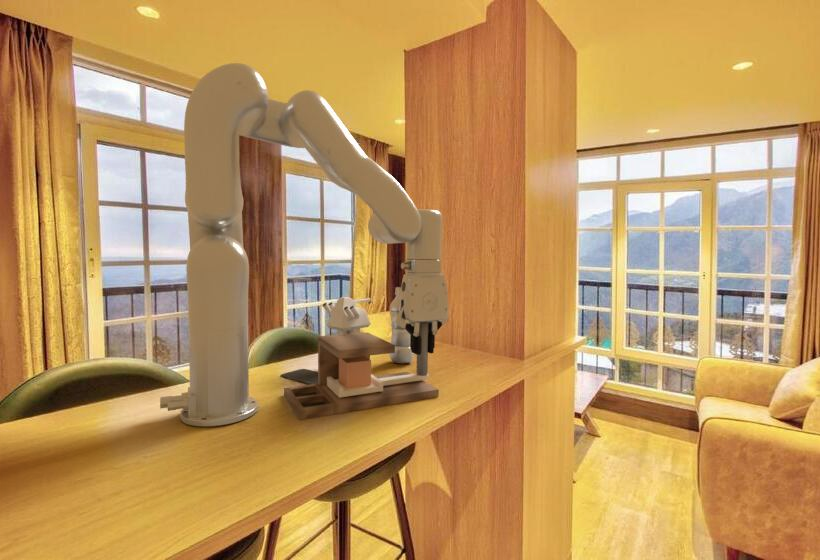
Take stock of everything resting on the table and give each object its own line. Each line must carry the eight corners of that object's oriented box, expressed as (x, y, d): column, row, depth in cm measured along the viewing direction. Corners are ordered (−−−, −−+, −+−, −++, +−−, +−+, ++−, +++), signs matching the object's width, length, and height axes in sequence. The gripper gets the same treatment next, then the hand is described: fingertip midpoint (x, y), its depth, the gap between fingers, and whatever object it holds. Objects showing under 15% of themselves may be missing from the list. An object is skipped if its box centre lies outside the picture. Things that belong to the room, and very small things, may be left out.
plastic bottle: (414, 366, 108) (415, 289, 107) (387, 365, 108) (388, 288, 107) (414, 359, 115) (415, 287, 113) (389, 359, 115) (390, 286, 114)
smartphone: (303, 368, 104) (346, 378, 95) (303, 371, 104) (346, 382, 95) (278, 374, 98) (322, 386, 89) (278, 378, 98) (322, 390, 89)
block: (346, 388, 81) (346, 363, 81) (338, 381, 85) (338, 357, 85) (370, 385, 83) (371, 360, 83) (361, 378, 88) (361, 354, 87)
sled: (339, 397, 79) (339, 329, 78) (326, 385, 86) (327, 322, 85) (436, 383, 88) (437, 322, 88) (417, 373, 96) (418, 316, 95)
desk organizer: (299, 419, 72) (299, 354, 72) (283, 395, 85) (283, 338, 84) (438, 396, 85) (439, 340, 85) (407, 378, 98) (407, 329, 97)
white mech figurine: (385, 366, 107) (386, 296, 106) (346, 378, 97) (346, 300, 96) (353, 358, 115) (353, 293, 114) (313, 368, 105) (314, 296, 103)
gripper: (397, 268, 83) (396, 360, 84) (465, 268, 90) (463, 353, 92) (382, 267, 90) (381, 352, 91) (446, 267, 97) (444, 346, 98)
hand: (422, 352), depth 91 cm, fingers closed on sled, 2 cm apart
